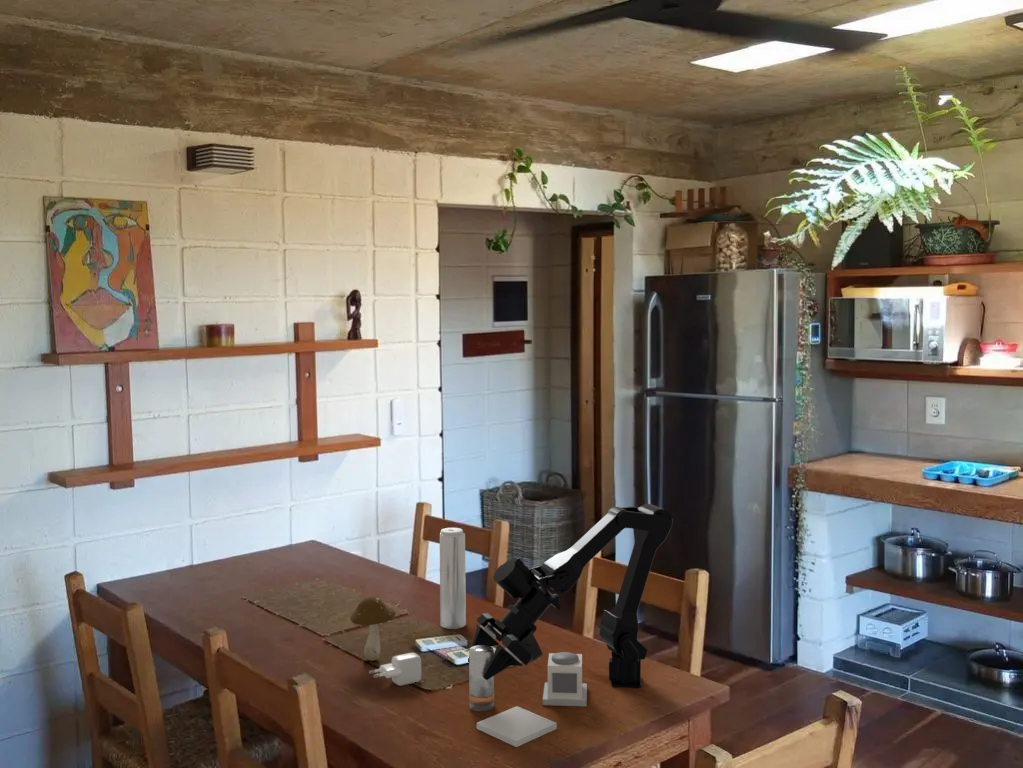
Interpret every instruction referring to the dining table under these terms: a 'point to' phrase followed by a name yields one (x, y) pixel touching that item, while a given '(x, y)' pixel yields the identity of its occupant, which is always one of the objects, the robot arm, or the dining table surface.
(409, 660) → the power adapter
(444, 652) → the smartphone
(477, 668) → the cartridge
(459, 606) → the white tall cylinder
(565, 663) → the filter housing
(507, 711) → the grey flat square slab
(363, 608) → the mushroom
